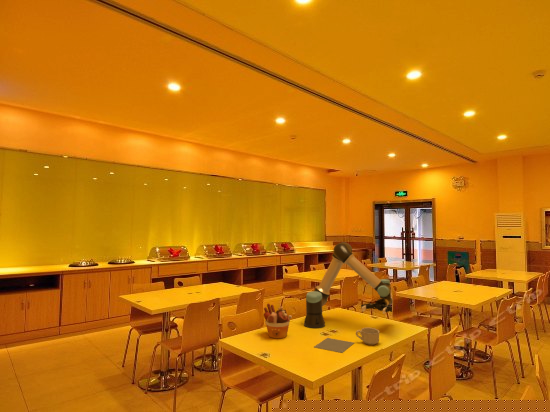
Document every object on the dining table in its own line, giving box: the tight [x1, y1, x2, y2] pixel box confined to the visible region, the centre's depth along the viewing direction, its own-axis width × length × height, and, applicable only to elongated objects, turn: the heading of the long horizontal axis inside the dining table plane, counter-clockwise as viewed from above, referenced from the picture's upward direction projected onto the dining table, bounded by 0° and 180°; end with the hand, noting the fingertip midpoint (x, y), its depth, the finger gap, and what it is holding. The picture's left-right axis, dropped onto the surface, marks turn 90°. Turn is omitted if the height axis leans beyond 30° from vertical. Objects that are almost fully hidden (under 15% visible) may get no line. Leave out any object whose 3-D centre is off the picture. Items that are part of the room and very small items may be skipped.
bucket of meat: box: [263, 303, 293, 340], centre depth 223 cm, size 20×16×20 cm
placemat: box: [313, 337, 355, 354], centre depth 204 cm, size 18×20×1 cm
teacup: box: [355, 327, 380, 346], centre depth 207 cm, size 14×11×8 cm
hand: (372, 310), depth 216 cm, fingers open, 13 cm apart
